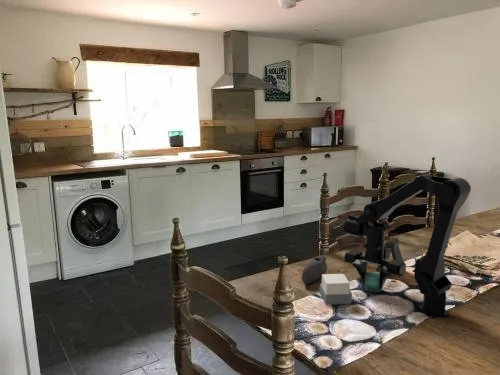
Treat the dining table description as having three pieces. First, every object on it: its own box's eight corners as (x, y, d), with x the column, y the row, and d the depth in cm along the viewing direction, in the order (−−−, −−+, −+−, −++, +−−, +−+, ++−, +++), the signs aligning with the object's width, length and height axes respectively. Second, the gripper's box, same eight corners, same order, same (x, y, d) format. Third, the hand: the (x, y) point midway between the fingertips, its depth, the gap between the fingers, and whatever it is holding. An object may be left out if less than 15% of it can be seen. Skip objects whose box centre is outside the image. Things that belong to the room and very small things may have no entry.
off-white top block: (349, 293, 121) (349, 283, 120) (326, 294, 120) (326, 283, 120) (343, 284, 127) (343, 273, 127) (321, 284, 127) (321, 274, 127)
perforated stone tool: (309, 289, 132) (309, 269, 130) (295, 284, 135) (295, 265, 134) (330, 274, 143) (330, 256, 142) (317, 270, 146) (317, 252, 145)
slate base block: (351, 304, 121) (352, 293, 121) (325, 305, 121) (326, 295, 120) (344, 292, 129) (344, 282, 128) (319, 294, 129) (319, 283, 128)
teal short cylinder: (383, 292, 128) (384, 277, 127) (367, 293, 128) (368, 278, 127) (377, 285, 133) (378, 271, 132) (362, 286, 133) (362, 272, 132)
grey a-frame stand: (375, 271, 145) (377, 239, 143) (381, 265, 150) (382, 235, 148) (401, 276, 140) (403, 244, 138) (406, 271, 145) (407, 239, 142)
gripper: (413, 240, 127) (410, 285, 130) (359, 229, 139) (357, 271, 142) (400, 249, 119) (397, 298, 122) (343, 237, 131) (342, 281, 134)
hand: (372, 286), depth 130 cm, fingers closed on teal short cylinder, 5 cm apart
